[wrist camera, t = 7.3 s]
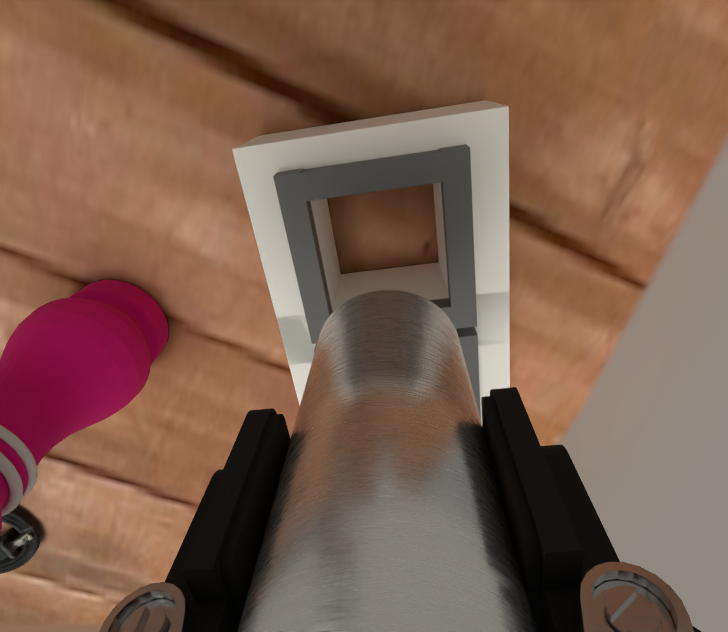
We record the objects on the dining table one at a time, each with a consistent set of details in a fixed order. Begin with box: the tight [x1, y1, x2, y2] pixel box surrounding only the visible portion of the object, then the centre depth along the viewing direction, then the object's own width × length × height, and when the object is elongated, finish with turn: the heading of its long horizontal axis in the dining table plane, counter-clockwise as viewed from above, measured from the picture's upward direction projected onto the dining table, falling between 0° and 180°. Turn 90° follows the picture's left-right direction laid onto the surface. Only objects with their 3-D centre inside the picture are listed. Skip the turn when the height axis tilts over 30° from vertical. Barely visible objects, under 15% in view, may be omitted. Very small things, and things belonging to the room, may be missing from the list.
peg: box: [237, 290, 537, 632], centre depth 9 cm, size 4×4×12 cm
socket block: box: [232, 100, 510, 423], centre depth 23 cm, size 20×12×12 cm, turn 8°
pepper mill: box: [0, 280, 169, 533], centre depth 22 cm, size 7×7×20 cm
